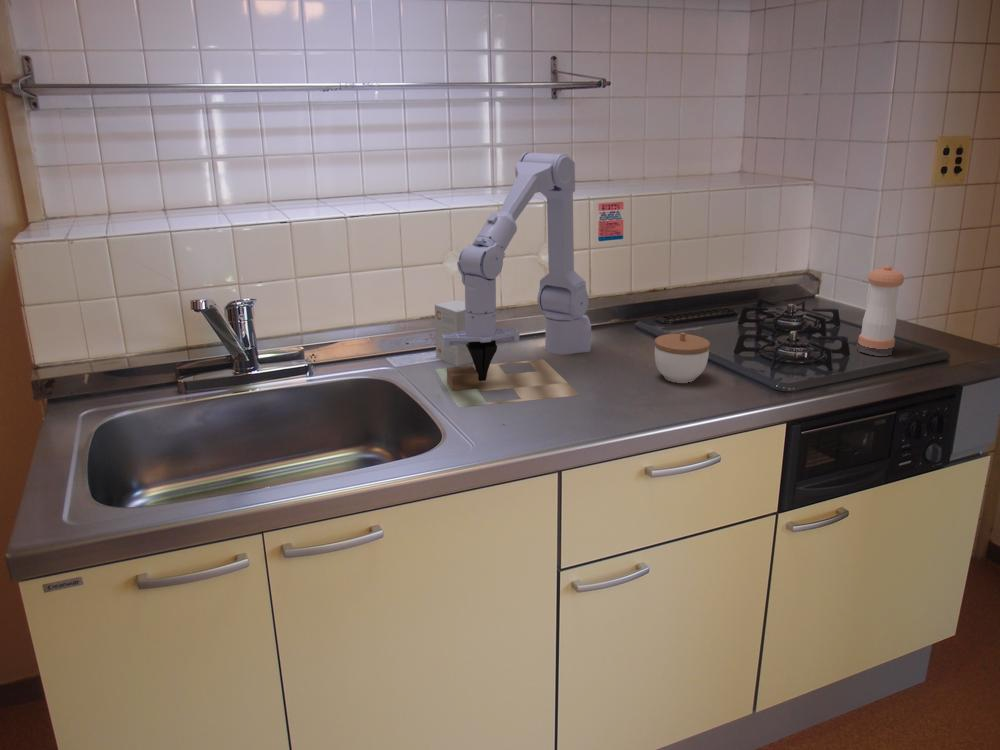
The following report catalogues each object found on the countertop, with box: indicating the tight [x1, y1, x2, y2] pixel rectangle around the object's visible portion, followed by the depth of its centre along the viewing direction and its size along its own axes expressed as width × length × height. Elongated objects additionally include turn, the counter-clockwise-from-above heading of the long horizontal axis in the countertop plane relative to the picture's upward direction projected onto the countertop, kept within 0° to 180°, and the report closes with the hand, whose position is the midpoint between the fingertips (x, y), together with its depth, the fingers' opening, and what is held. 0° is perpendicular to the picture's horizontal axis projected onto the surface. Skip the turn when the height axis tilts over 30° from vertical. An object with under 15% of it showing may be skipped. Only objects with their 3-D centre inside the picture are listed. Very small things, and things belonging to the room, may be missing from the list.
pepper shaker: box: [857, 265, 905, 349], centre depth 176 cm, size 7×7×19 cm
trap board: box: [434, 359, 581, 409], centre depth 158 cm, size 23×22×2 cm
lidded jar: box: [654, 332, 711, 384], centre depth 162 cm, size 11×11×9 cm
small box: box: [434, 299, 474, 367], centre depth 170 cm, size 8×6×13 cm
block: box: [446, 365, 479, 391], centre depth 155 cm, size 5×5×3 cm
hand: (481, 379), depth 156 cm, fingers closed
